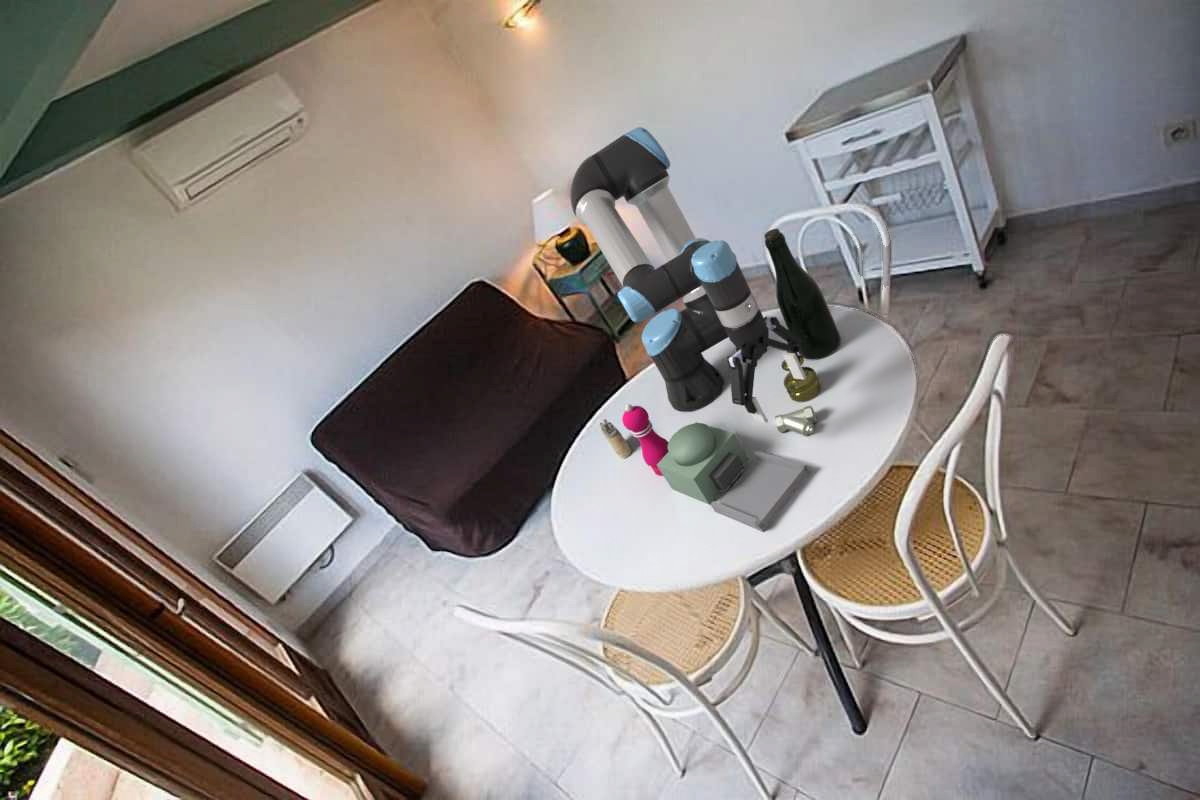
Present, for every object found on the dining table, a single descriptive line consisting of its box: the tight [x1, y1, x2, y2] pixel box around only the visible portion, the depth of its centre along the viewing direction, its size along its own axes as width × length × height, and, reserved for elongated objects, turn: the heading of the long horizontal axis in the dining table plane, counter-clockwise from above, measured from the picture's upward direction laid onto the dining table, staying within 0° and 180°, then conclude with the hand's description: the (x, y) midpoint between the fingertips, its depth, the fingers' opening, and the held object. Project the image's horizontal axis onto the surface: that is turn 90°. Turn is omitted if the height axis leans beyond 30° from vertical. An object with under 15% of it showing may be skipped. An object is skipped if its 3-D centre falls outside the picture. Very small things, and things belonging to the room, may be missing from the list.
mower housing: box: [657, 421, 750, 506], centre depth 139 cm, size 14×14×11 cm
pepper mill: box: [621, 403, 669, 477], centre depth 148 cm, size 7×7×20 cm
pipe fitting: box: [774, 404, 817, 437], centre depth 138 cm, size 8×4×7 cm
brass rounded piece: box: [781, 354, 822, 403], centre depth 145 cm, size 7×7×10 cm
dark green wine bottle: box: [764, 228, 842, 360], centre depth 149 cm, size 10×10×33 cm
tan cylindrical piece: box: [599, 418, 633, 459], centre depth 164 cm, size 7×4×10 cm, turn 21°
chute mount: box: [710, 450, 811, 533], centre depth 130 cm, size 13×16×2 cm
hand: (781, 399), depth 133 cm, fingers open, 13 cm apart
